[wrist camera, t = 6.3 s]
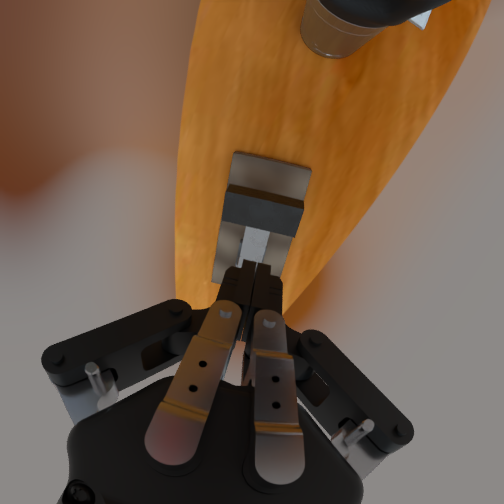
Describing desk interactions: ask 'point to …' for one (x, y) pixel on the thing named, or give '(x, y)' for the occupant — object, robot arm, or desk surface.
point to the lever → (260, 218)
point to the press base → (266, 179)
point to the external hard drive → (420, 20)
